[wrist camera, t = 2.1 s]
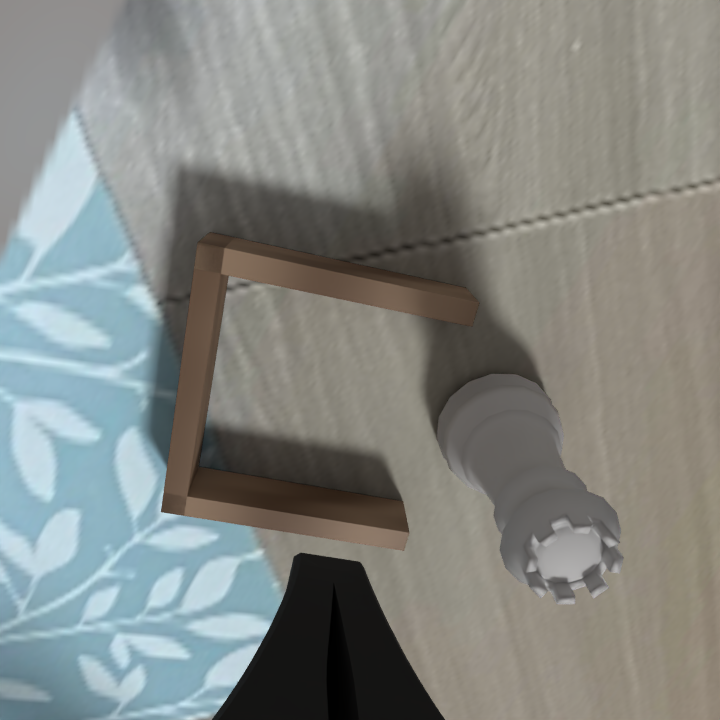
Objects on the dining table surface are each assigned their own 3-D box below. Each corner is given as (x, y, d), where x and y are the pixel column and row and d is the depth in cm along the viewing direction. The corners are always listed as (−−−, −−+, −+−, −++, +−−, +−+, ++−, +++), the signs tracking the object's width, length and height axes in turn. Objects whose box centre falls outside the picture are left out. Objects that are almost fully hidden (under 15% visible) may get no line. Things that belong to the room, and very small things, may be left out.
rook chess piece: (419, 462, 23) (463, 619, 16) (454, 356, 22) (520, 473, 14) (528, 483, 24) (620, 645, 16) (568, 381, 22) (691, 507, 15)
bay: (465, 287, 21) (479, 303, 19) (398, 518, 24) (404, 550, 22) (210, 232, 20) (197, 242, 18) (174, 481, 23) (161, 512, 21)
